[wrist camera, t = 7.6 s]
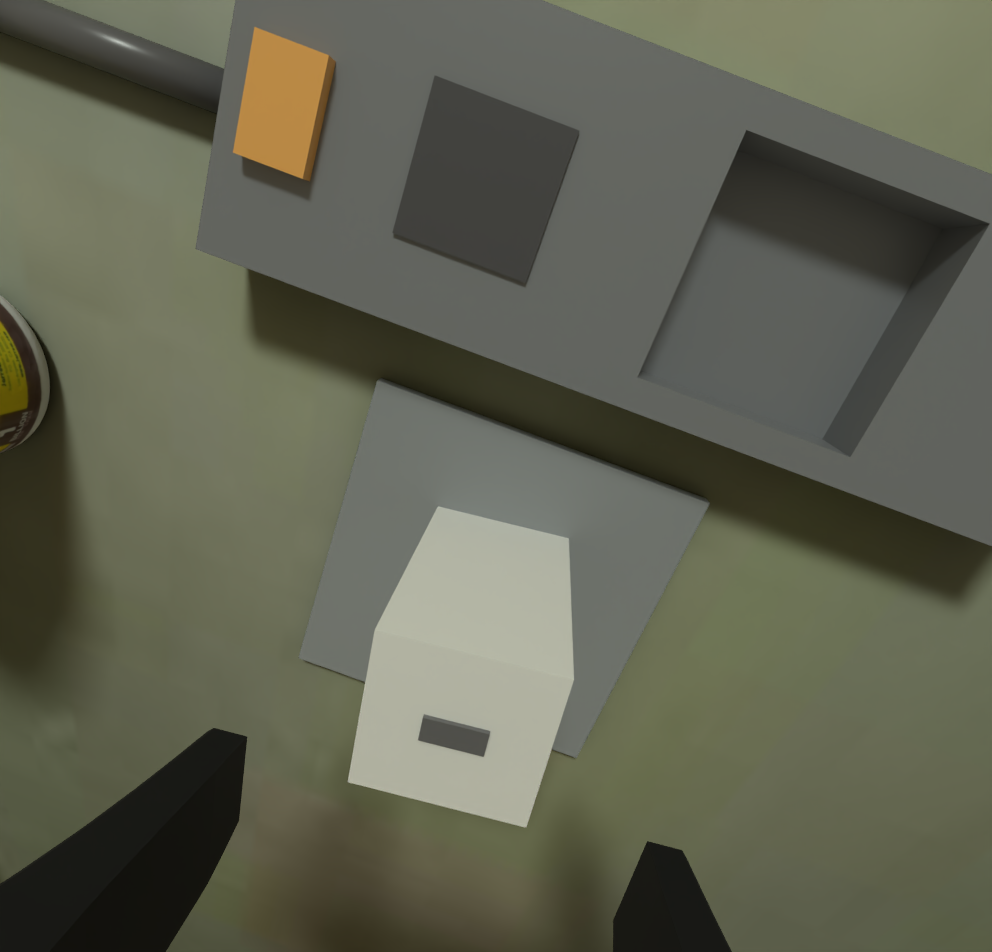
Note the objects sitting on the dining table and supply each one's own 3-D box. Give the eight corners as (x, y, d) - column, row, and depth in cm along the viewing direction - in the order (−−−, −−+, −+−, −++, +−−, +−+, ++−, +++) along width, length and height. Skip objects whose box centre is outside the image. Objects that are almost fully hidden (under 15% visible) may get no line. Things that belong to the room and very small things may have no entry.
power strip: (1164, 282, 14) (1298, 285, 12) (986, 529, 17) (1066, 577, 14) (-66, -192, 14) (-214, -302, 11) (-70, 134, 16) (-193, 107, 14)
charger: (568, 538, 18) (573, 683, 12) (536, 648, 19) (526, 831, 13) (438, 506, 18) (373, 632, 12) (415, 618, 19) (346, 786, 13)
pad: (706, 498, 17) (709, 503, 17) (576, 749, 21) (576, 758, 20) (381, 377, 17) (377, 380, 17) (303, 651, 20) (298, 657, 20)
